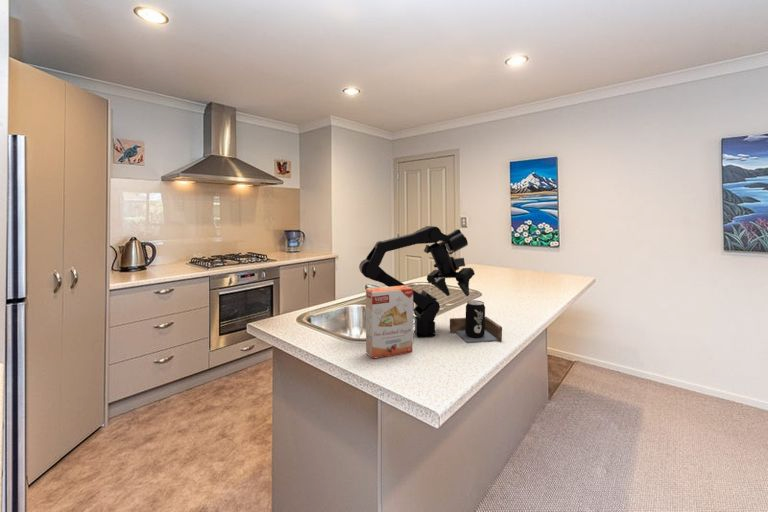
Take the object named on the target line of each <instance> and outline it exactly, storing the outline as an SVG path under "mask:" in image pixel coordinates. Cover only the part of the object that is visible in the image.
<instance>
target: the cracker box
mask: <svg viewBox="0 0 768 512" xmlns="http://www.w3.org/2000/svg"><path fill="white" fill-rule="evenodd" d="M413 290H414V288H413V287H411V286H408V285H406V284H405V285H402V286H392V287H388V286H384V287H383V286H382V287H372V288H366V289H365V344H366V345H365V352H367V353H368V354H369V355H370V356H371V357H372V358H375V357H380V358H382V357H381V356H386V357H389V356H388V355H391V356H396V355H395V354H397V355H402V353H403V354H408V353H412V352H413V344H414V343H413V342H414V341H413V334H414V328H413V327H414V321H413V319H414V311H413V310H414V302H413ZM367 353H366V354H367ZM368 354H367V355H368ZM369 355H368V356H369ZM370 356H369V357H370ZM371 357H370V358H371ZM372 358H371V359H372ZM375 359H376V358H375Z"/></svg>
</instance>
